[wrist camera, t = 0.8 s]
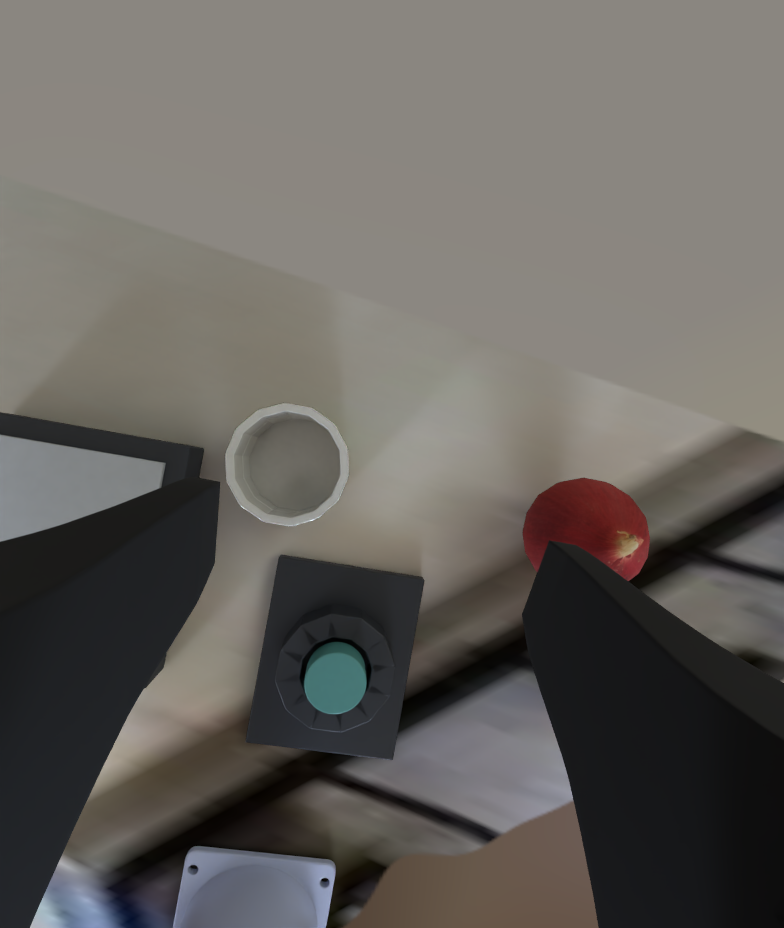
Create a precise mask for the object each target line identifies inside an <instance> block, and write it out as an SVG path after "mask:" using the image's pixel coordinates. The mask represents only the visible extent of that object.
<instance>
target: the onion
mask: <svg viewBox="0 0 784 928" xmlns="http://www.w3.org/2000/svg"><path fill="white" fill-rule="evenodd" d="M523 539H524V546H525V552H526V554H527V556H528V558H529V560H530V561H531V563H532V565H533V567H534V569H535V570H536V571H537V572H538V569H539V567H540V564H541V561H542V558H543V556H544V553H545V550H546V547H547V545H548V542H549V540H550V541H556V542H562V543H567V544H573V545H577V546H579V547H580V548H582V549H584V550H585V551H587V552H589V553H590V554H591V555H593V556H594V557H596V558H597V559H599V560H600V561H601V562H603V563H604V564H606V565H607V566H608V567H610V568H611V569H612V570H614V571H615V572H616V573H618V574H619V575H620V576H622V577H623V578H624V579H626V580H627V581H629V580H630V579H632V578H633V577H635V576H636V575H637V574H639V572H640V570H641V568H642V566H643V564H644V563H645V561H646V559H647V557H648V550H649V542H650V536H649V531H648V526H647V521H646V517H645V516H644V514H643V513H642V512H641V510H640V509H639V507H638V506H637V505H636V503H635V502H634V501H633V499H632V498H631V497H630V496H629V495H627V494H626V493H624V492H622V491H621V490H619V489H618V488H616V487H615V486H613V485H611V484H609V483H606V482H603V481H597V480H592V479H587V478H580V479H575V480H569V481H563V482H560V483H557V484H555V485H553V486H552V487H550V488H549V489H547V490H546V491H544V492H543V493H541V494H539V495H538V496H537V498H536V499H535V501H534V503H533V504H532V506H531V507H530V509H529V510H528V512H527V514H526V519H525V523H524V528H523Z"/></svg>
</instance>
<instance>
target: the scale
mask: <svg viewBox="0 0 784 928" xmlns="http://www.w3.org/2000/svg"><path fill="white" fill-rule="evenodd" d="M203 452H204V448H200V447H194V446H189V445H183V444H178V443H172V442H166V441H161V440H155V439H149V438H144V437H138V436H132V435H127V434H121V433H115V432H110V431H104V430H98V429H93V428H87V427H81V426H76V425H70V424H64V423H59V422H53V421H47V420H42V419H36V418H30V417H25V416H19V415H13V414H7V413H0V542H1V541H5V540H9V539H12V538H16V537H20V536H24V535H28V534H31V533H35V532H38V531H42V530H45V529H49V528H52V527H55V526H58V525H62V524H65V523H68V522H70V521H73V520H76V519H79V518H82V517H85V516H88V515H90V514H93V513H96V512H99V511H102V510H105V509H108V508H110V507H113V506H116V505H118V504H121V503H123V502H126V501H128V500H131V499H133V498H136V497H138V496H141V495H144V494H146V493H149V492H151V491H153V490H156V489H158V488H161V487H163V486H166V485H169V484H171V483H174V482H176V481H179V480H182V479H185V478H189V477H195V478H199V474H200V468H201V463H202V458H203ZM165 658H166V654H165V655H164V657H163V658H162V660H161V662H160V663H159V665H158V666H157V668H156V670H155V671H154V673H153V674H152V676H151V678H150V679H149V681H148V682H147V684H146V686H145V687H144V688H146V687H147V686H148V685H149V684H150V682H151V681H152V680H153V679H154V678H155V677H156V676H157V675H158V673H159V672H160V671H161V670H162V669H163V668H164V663H165Z"/></svg>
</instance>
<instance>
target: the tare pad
mask: <svg viewBox="0 0 784 928" xmlns="http://www.w3.org/2000/svg"><path fill="white" fill-rule="evenodd" d="M423 585H424V579H423V577H419V576H412V575H406V574H400V573H394V572H387V571H381V570H375V569H368V568H362V567H356V566H350V565H343V564H337V563H331V562H324V561H318V560H312V559H306V558H299V557H293V556H287V555H280V557H279V560H278V565H277V571H276V576H275V582H274V587H273V593H272V598H271V604H270V609H269V615H268V620H267V626H266V631H265V637H264V642H263V648H262V653H261V659H260V664H259V670H258V675H257V681H256V686H255V692H254V697H253V703H252V708H251V714H250V719H249V725H248V730H247V736H246V742H249V743H257V744H265V745H273V746H282V747H290V748H298V749H306V750H314V751H322V752H330V753H338V754H346V755H354V756H362V757H371V758H379V759H387V760H393V755H394V750H395V744H396V738H397V733H398V727H399V721H400V716H401V710H402V704H403V699H404V693H405V687H406V682H407V676H408V670H409V665H410V659H411V653H412V647H413V642H414V636H415V630H416V625H417V619H418V613H419V608H420V602H421V596H422V591H423ZM331 642H343V643H347V644H349V645H351V646H353V647H354V648H355V649H357V650H358V652H359V653H360V654H361V656H362V658H363V660H364V663H365V670H366V679H367V684H366V690H365V693H364V695H363V697H362V699H361V700H360V702H359V703H358V704H357V705H356V706H355V707H354V708H352V709H351V710H349V711H347V712H344V713H341V714H328V713H324V712H322V711H320V710H318V709H316V708H315V707H314V706H313V705H312V704H311V703H310V702H309V700H308V698H307V696H306V693H305V689H304V680H305V674H306V668H307V664H308V661H309V659H310V657H311V656H312V654H313V653H314V652H315V651H316V650H317V649H318V648H319V647H321V646H323V645H325V644H327V643H331Z"/></svg>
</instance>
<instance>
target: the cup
mask: <svg viewBox="0 0 784 928" xmlns="http://www.w3.org/2000/svg"><path fill="white" fill-rule="evenodd" d="M225 453H226V454H225V464H226V481H227V484H228V485H229V487H230V489H231V491H232V493H233V494H234V496H235V498H236V500H237V502H238V503H239V505H241V507H242V508H244V509H245V510H246V511H248V512H249V513H251V514H252V515H254V516H255V517H256V518H258V519H259V520H261V521H262V522H266V523H272V524H278V525H284V526H295V525H298V524H302V523H305V522H309V521H312V520H316V519H317V518H319V517H320V516H322V515H323V514H324V513H325V512H326V511H327V510H328V509H330V508H331V507H332V506H333V505H334V504H335V503H336V502H338V500H339V498H340V496H341V494H342V491H343V489H344V487H345V484H346V482H347V480H348V477H349V459H348V448H347V445H346V444H345V442H344V440H343V438H342V436H341V434H340V432H339V431H338V429H337V427H336V425H335V424H334V423H333V422H332V421H330V420H329V419H327V418H326V417H325V416H323V415H322V414H321V413H319V412H318V411H316V410H315V409H314V408H311V407H307V406H301V405H296V404H291V403H281V404H277V405H273V406H269V407H266V408H262V409H258V410H257V411H255V412H254V413H253V414H252V415H251V416H249V417H248V418H247V419H246V420H245V421H244V422H242V423H241V424H240V425H239V426H238V427H237V428H236V429H235V432H234V434H233V436H232V439H231V441H230V443H229V445H228V448H227V450H226V452H225Z"/></svg>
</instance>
